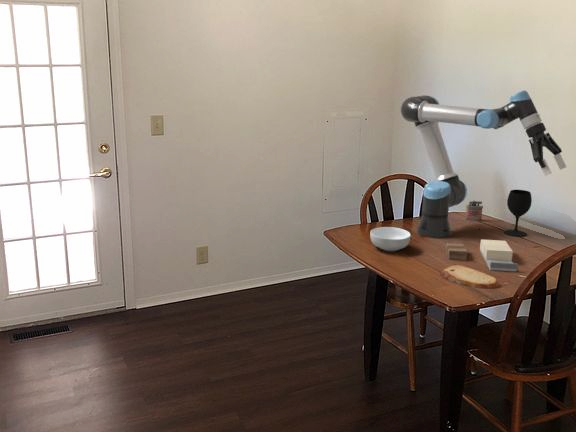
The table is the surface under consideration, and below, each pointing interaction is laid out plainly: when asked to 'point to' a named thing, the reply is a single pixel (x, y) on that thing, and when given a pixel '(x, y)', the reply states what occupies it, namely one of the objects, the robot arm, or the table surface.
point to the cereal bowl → (390, 238)
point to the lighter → (474, 211)
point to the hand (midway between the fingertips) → (556, 171)
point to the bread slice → (469, 277)
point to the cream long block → (497, 255)
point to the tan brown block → (456, 251)
